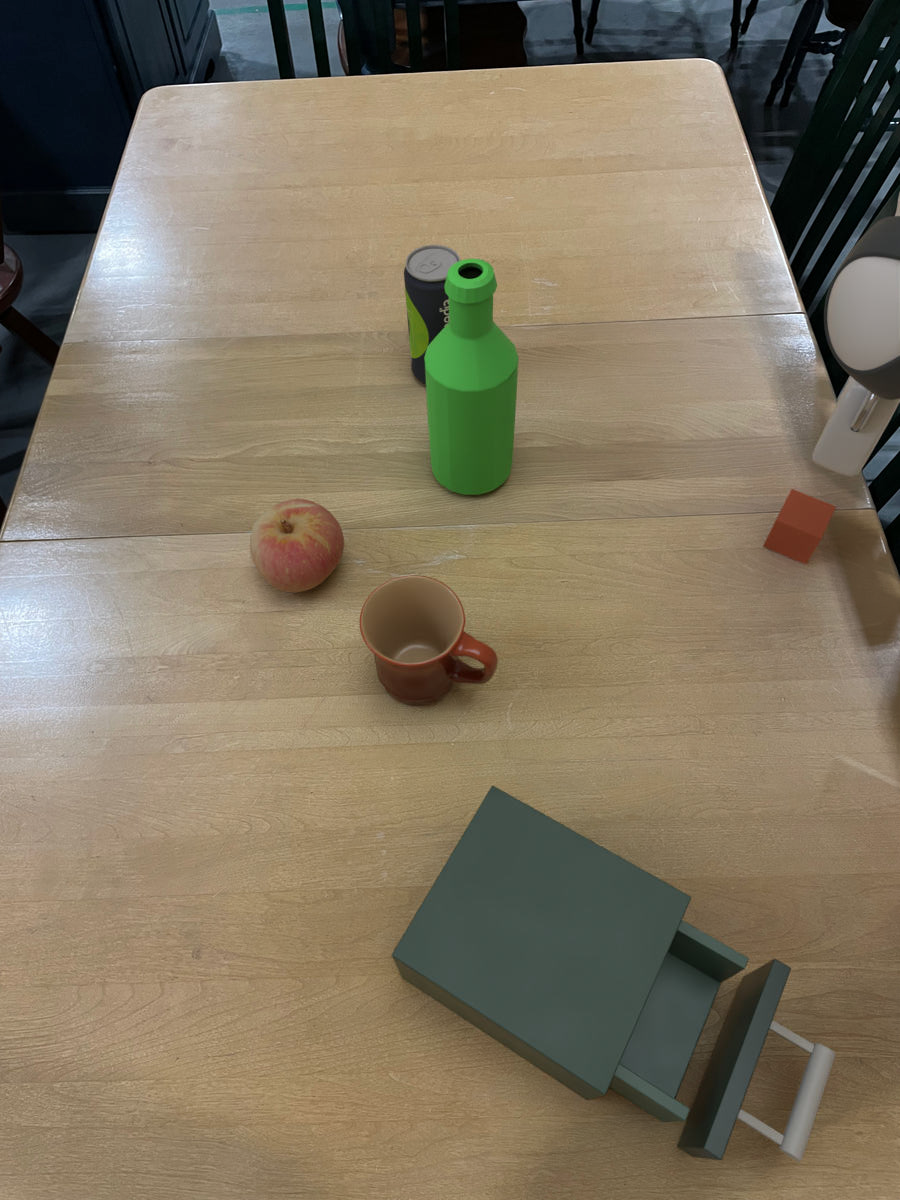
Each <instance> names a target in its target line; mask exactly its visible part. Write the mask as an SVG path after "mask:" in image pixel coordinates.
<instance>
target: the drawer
mask: <svg viewBox="0 0 900 1200" xmlns="http://www.w3.org/2000/svg"><path fill="white" fill-rule="evenodd" d="M749 960H750V958H749V957H748V956H746V955H744V954H743V953H741V952H739V951H737V950H735V949H733V948H732V947H730V946H728V945H727V944H725V943H723V942H721V941H720V940H718V939H716V938H715V937H713V936H711V935H710V934H708V933H706V932H704V931H702V930H701V929H699V928H697V927H695V926H693V925H692V924H691V923H688V922H686V921H685V920H683V919H682V921H681V923H680V925H679V928H678V930H677V932H676V934H675V937H674V939H673V941H672V944H671V946H670V948H669V951H668V953H667V955H666V957H665V960H664V962H663V964H662V967H661V969H660V971H659V973H658V976H657V978H656V980H655V983H654V985H653V987H652V989H651V992H650V994H649V996H648V999H647V1001H646V1003H645V1005H644V1008H643V1010H642V1012H641V1015H640V1017H639V1019H638V1022H637V1024H636V1026H635V1028H634V1031H633V1033H632V1035H631V1038H630V1040H629V1042H628V1044H627V1047H626V1049H625V1051H624V1054H623V1056H622V1058H621V1060H620V1063H619V1065H618V1067H617V1070H616V1072H615V1074H614V1076H613V1079H612V1081H611V1083H610V1086H609V1088H608V1089H611V1090H612V1091H614V1092H615V1093H617V1094H619V1095H620V1096H621V1097H623V1098H624V1099H626V1100H628V1101H629V1102H630V1103H632V1104H633V1105H635V1106H636V1107H638V1108H639V1109H642V1110H643V1111H645V1112H647V1113H648V1114H650V1115H651V1116H652V1117H654V1118H655V1119H657V1120H659V1121H660V1122H661V1123H676V1122H677V1123H679V1122H686V1123H685V1125H684V1128H683V1130H682V1132H681V1135H680V1137H679V1140H678V1143H677V1148H678V1149H679V1150H680V1151H682V1152H684V1153H685V1154H687V1155H688V1156H690V1157H691V1158H698V1159H707V1160H714V1161H715V1160H716V1161H722V1160H723V1157H724V1155H725V1152H726V1150H727V1148H728V1144H729V1142H730V1138H731V1136H732V1133H733V1130H734V1127H735V1125H736V1122H737V1120H738V1121H740V1122H741V1123H743V1124H745V1125H746V1126H748V1128H751V1129H752V1130H754V1131H756V1132H757V1133H759V1134H760V1135H762V1137H765V1138H766V1139H768V1140H770V1141H771V1142H773V1143H774V1144H776V1145H778V1150H779V1151H780V1152H781V1153H783V1155H786V1156H787V1157H788V1158H791V1159H792V1160H795V1161H797V1162H799V1163H800V1162H802V1161H803V1157H804V1154H805V1151H806V1147H807V1145H808V1141H809V1139H810V1136H811V1132H812V1129H813V1127H814V1122H815V1119H816V1116H817V1114H818V1111H819V1108H820V1104H821V1101H822V1098H823V1096H824V1092H825V1088H826V1086H827V1082H828V1079H829V1076H830V1073H831V1071H832V1070H831V1069H832V1067H833V1064H834V1061H835V1057H836V1053H835V1051H834V1050H832V1049H831V1048H830V1047H828V1046H826V1045H824V1044H822V1043H819V1042H814V1043H813V1042H811V1041H809V1040H807V1039H806V1038H804V1037H802V1036H801V1035H799V1034H797V1033H796V1032H794V1031H792V1030H790V1029H788V1028H787V1027H786V1026H783V1025H782V1024H780V1023H778V1022H777V1021H775V1020H774V1017H775V1015H776V1011H777V1009H778V1006H779V1004H780V1001H781V997H782V995H783V992H784V990H785V987H786V984H787V981H788V979H789V976H790V973H791V970H792V968H791V966H789V965H787V964H785V963H783V962H781V961H780V960H778V959H776V958H772V959H771V960H769V961H767V962H766V963H764V964H763V965H761V966H759V967H758V968H756V969H754V970H752V971H751V972H749V973H747V974H745V975H744V976H742V978H741V981H740V983H739V987H738V988H737V991H736V993H735V996H734V999H733V1001H732V1004H731V1007H730V1009H729V1011H728V1014H727V1017H726V1019H725V1021H724V1025H723V1027H722V1029H721V1032H720V1034H719V1037H718V1040H717V1042H716V1045H715V1048H714V1050H713V1053H712V1056H711V1058H710V1061H709V1063H708V1066H707V1067H706V1070H705V1074H704V1076H703V1078H702V1081H701V1083H700V1085H699V1086H700V1087H699V1089H698V1092H697V1094H696V1097H695V1099H694V1102H693V1105H692V1106H691V1108H690V1107H689V1106H687V1105H686V1104H684V1103H682V1102H681V1101H679V1100H677V1099H676V1097H677V1096H678V1095H677V1094H678V1092H679V1089H680V1087H681V1084H682V1082H683V1079H684V1078H685V1074H686V1072H687V1070H688V1067H689V1065H690V1062H691V1060H692V1057H693V1054H694V1052H695V1049H696V1047H697V1044H698V1042H699V1039H700V1037H701V1034H702V1032H703V1029H704V1028H705V1025H706V1022H707V1019H708V1017H709V1014H710V1012H711V1010H712V1007H713V1004H714V1002H715V999H716V997H717V994H718V992H719V990H720V987H721V984H722V983H724V982H726V981H727V980H729V979H730V978H732V977H733V976H735V975H737V974H739V973H740V972H742V971H744V970H746V968H747V965H748V962H749ZM769 1032H771V1033H773V1034H775V1035H776V1036H778V1037H780V1038H782V1039H783V1040H785V1041H787V1042H789V1043H790V1044H792V1045H794V1046H795V1047H797V1048H798V1049H800V1050H802V1051H804V1052H805V1053H807V1054H809V1056H808V1059H807V1062H806V1065H805V1069H804V1071H803V1075H802V1077H801V1080H800V1084H799V1086H798V1089H797V1092H796V1095H795V1098H794V1101H793V1104H792V1107H791V1110H790V1113H789V1116H788V1119H787V1122H786V1124H785V1128H784V1131H783V1134H782V1133H781V1132H779V1131H778V1130H776V1129H774V1128H773V1127H771V1126H770V1125H768V1124H767V1123H766V1122H763V1121H761V1119H758V1117H756V1116H754V1115H752V1114H751V1113H749V1112H747V1111H746V1110H744V1109H742V1105H743V1103H744V1100H745V1097H746V1094H747V1092H748V1089H749V1086H750V1083H751V1081H752V1078H753V1076H754V1072H755V1070H756V1067H757V1065H758V1061H759V1059H760V1056H761V1053H762V1050H763V1047H764V1045H765V1042H766V1041H767V1040H766V1039H767V1037H768V1034H769Z"/></svg>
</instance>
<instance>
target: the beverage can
mask: <svg viewBox="0 0 900 1200" xmlns="http://www.w3.org/2000/svg"><path fill="white" fill-rule="evenodd" d="M461 260H462V259H461V257H460V255H459V253H458V252H457V251H455V250H454V248H451V247H449V246H446V245H442V244H427V245H422V246H420V247H417V248H415V249H413V250H412V251H411V252H409V254H408V255H407V257H406V259H405V266H404V269H403V270H404V271H403V281H404V293H405V294H404V295H405V305H406V306H405V307H406V318H407V319H406V320H407V331H408V343H409V355H410V356H409V357H410V367H411V372H412V375H413V377H414V378H416V379H417V380H418V381H419V382H421V383H422V384H424V385H426V374H425V360H424V357H425V353H426V350H427V347H428V345H429V344H430V343H431V342H432V341H433V340H434V338H435V337H436V336H437V335H438V334H439V333H440V332H441V331H442V330H443V328H444V327H445V326H446V325H447V324H448V323H449V296H448V295H447V294H446V293H445V288H444V286H445V282H446V277H447V273H448V270H449V268H450V267H451V266H452V265H453V264H455V263H457V262H458V261H461Z"/></svg>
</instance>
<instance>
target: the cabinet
mask: <svg viewBox="0 0 900 1200" xmlns="http://www.w3.org/2000/svg"><path fill="white" fill-rule="evenodd" d="M691 900H692V896H690V895H689V894H687V893H686V892H684V891H681V890H680V889H678V888H677V887H675V886H673V885H671V884H669V883H667V882H666V881H664V880H662V879H660V878H659V877H657V876H655V875H653V874H652V873H650V872H648V871H646V870H644V869H643V868H641V867H639V866H637V865H635V864H634V863H633V862H631V861H628V860H626V859H625V858H623V857H621V856H620V855H618V854H616V853H614V852H612V851H611V850H609V849H607V848H606V847H604V846H602V845H600V844H598V843H596V842H594V840H593V841H592V840H591V839H589V838H588V837H585V836H584V835H582V834H581V833H579V832H577V831H575V830H573V829H571V828H570V827H568V826H566V825H564V824H562V823H561V822H559V821H558V820H555V819H554V818H552V817H550V816H549V815H547V814H545V813H543V812H541V811H540V810H537V809H536V808H535V807H532V806H530V805H529V804H527V803H525V802H524V801H522V800H520V799H519V798H516V797H514V796H513V795H511V794H509V793H507V792H505V790H502V789H500V788H498V787H497V786H495V785H491V786H490V788H489V790H488V792H487V793H486V795H485V797H484V798H483V799H482V802H481V803H480V805H479V807H478V808H477V810H476V811H475V813H474V815H473V817H472V819H471V820H470V822H469V824H468V825H467V827H466V829H465V830H464V831H463V833H462V835H461V837H460V838H459V840H458V842H457V844H456V845H455V847H454V849H453V851H452V852H451V853H450V855H449V857H448V859H447V861H446V862H445V864H444V865H443V867H442V869H441V871H440V872H439V874H438V875H437V878H436V879H435V880H434V882H433V884H432V886H431V887H430V889H429V891H428V892H427V894H426V896H425V897H424V900H422V902H421V904H420V906H419V908H418V910H417V911H416V913H415V915H414V916H413V918H412V919H411V920H410V922H409V924H408V926H407V928H406V929H405V931H404V933H403V934H402V936H401V938H400V939H399V941H398V943H397V945H396V946H395V948H394V950H393V951H392V953H391V957H392V959H393V962H394V964H395V966H396V968H397V970H398V973H399V975H400V977H401V978H402V979H403V980H404V981H406V982H407V983H409V984H411V985H412V986H413V987H415V988H416V989H418V990H420V991H421V992H422V993H424V994H425V995H426V996H428V997H430V998H432V999H433V1000H435V1001H436V1002H438V1003H439V1004H441V1005H442V1006H443V1007H445V1008H447V1009H448V1010H449V1011H451V1012H453V1013H454V1014H456V1015H457V1016H459V1017H460V1018H462V1019H463V1020H464V1021H466V1022H468V1023H469V1024H471V1025H472V1026H474V1027H475V1028H477V1029H478V1030H480V1031H482V1032H483V1033H484V1034H486V1035H487V1036H489V1037H490V1038H492V1039H494V1040H495V1041H496V1042H498V1043H499V1044H501V1045H502V1046H504V1047H506V1048H507V1049H509V1050H510V1051H511V1052H513V1053H515V1054H516V1055H518V1056H519V1057H520V1058H522V1059H524V1060H525V1061H527V1062H528V1063H530V1064H531V1065H532V1066H534V1067H536V1068H537V1069H539V1070H540V1071H542V1072H543V1073H545V1074H546V1075H548V1076H550V1078H552V1079H554V1080H555V1081H557V1082H559V1083H560V1084H562V1085H563V1086H565V1087H566V1088H567V1089H568V1090H571V1091H573V1093H575V1094H576V1095H578V1096H580V1097H581V1098H583V1099H584V1100H585V1101H588V1100H592V1099H596V1098H599V1097H602V1096H606V1094H607V1093H608V1090H609V1089H610V1088H609V1086H610V1083H611V1081H612V1079H613V1076H614V1074H615V1072H616V1070H617V1067H618V1065H619V1063H620V1060H621V1058H622V1056H623V1054H624V1051H625V1049H626V1047H627V1044H628V1042H629V1040H630V1038H631V1035H632V1033H633V1031H634V1028H635V1026H636V1024H637V1022H638V1019H639V1017H640V1015H641V1012H642V1010H643V1008H644V1005H645V1003H646V1001H647V999H648V996H649V994H650V992H651V989H652V987H653V985H654V983H655V980H656V978H657V976H658V973H659V971H660V969H661V967H662V964H663V962H664V960H665V957H666V955H667V953H668V951H669V948H670V946H671V944H672V941H673V939H674V937H675V934H676V932H677V930H678V928H679V925H680V923H681V921H682V920H683V919H684V916H685V914H686V912H687V909H688V907H689V905H690V902H691Z"/></svg>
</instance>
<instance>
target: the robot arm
mask: <svg viewBox="0 0 900 1200" xmlns="http://www.w3.org/2000/svg"><path fill="white" fill-rule="evenodd" d="M896 204H897V205H896V211H895V214H894V215H892V216H886V217H884V218H881V219H880V220H877V222H875V223H874V224H873V225H871V227H870V228H869V229H868V230H867V231H866V232H865V233H864V234H863V235H862V236H861V238H860V239H859V240H858V241H857V242H856V244H854V246H853V247H852V248H851V250H850V251H849V252H848V254H847V255H846V257H844V259H843V260H842V262H841V263H840V265H839V267H838V269H837V270H836V272H835V274H834V276H833V278H832V280H831V282H830V284H829V287H828V290H827V293H826V297H825V301H824V307H823V309H824V310H823V326H824V333H825V338H826V342H827V344H828V347H829V350H830V351H831V354H832V355H833V357H834V359H835V360H836V361H837V363H838V364H839V366H840V367H841V368H842V369H843V370H844V371H845V372H846V374H848V375H849V377H848V379H847V381H846V383H845V385H844V387H843V389H842V391H841V392H840V396H839V397H838V399H837V400H836V403H835V406H834V408H833V410H832V412H831V413H830V416H829V418H828V420H827V422H826V424H825V426H824V429H823V430H822V433H821V434H820V436H819V438H818V440H817V443H816V445H815V446H814V448H813V451H812V454H811V460H812V463H814V464H815V465H817V466H819V467H821V468H823V469H826V470H828V471H830V472H833V473H836V474H839V475H842V476H845V477H849V478H852V477H856V476H857V475H858V474H859V473H860V472H861V471H862V470H863V468H864V466H865V464H866V463H867V462H868V460H869V458H870V456H871V454H872V453H873V451H874V449H875V447H876V446H877V444H878V442H879V440H880V439H881V437H882V435H883V433H884V432H885V430H886V429H887V427H888V425H889V423H890V421H891V419H892V417H893V415H894V413H895V412H896V410H897V409H898V406H899V404H900V192H899V193H898V198H897V203H896Z"/></svg>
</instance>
